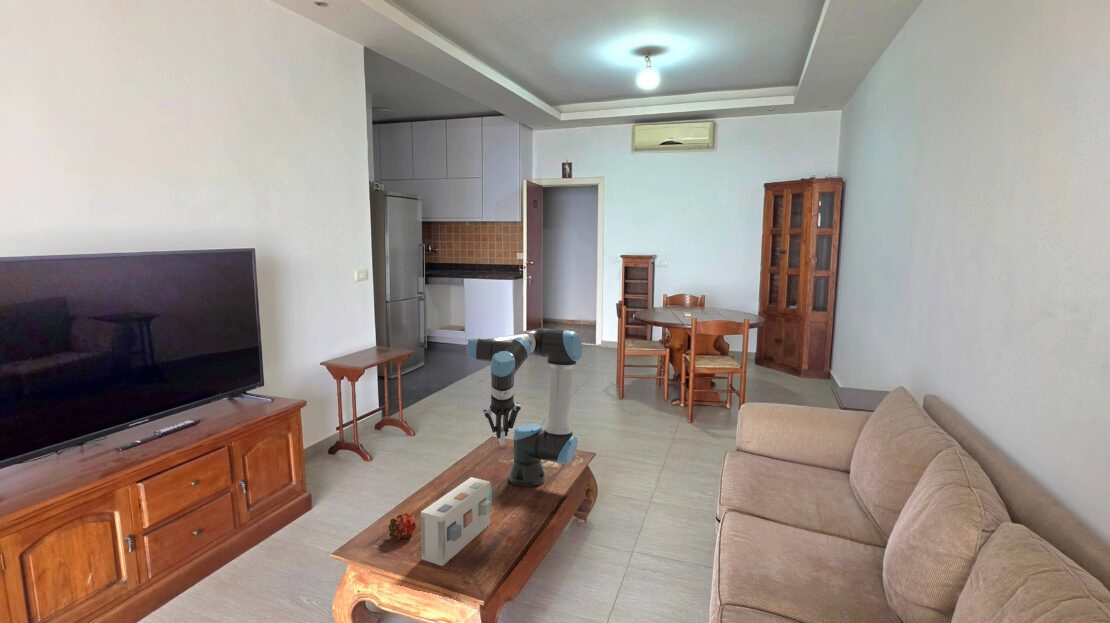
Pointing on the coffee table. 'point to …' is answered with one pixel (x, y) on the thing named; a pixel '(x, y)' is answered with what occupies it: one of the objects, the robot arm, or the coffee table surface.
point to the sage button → (484, 507)
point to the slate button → (454, 531)
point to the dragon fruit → (402, 526)
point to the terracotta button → (467, 518)
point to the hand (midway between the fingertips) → (501, 442)
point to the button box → (453, 520)
